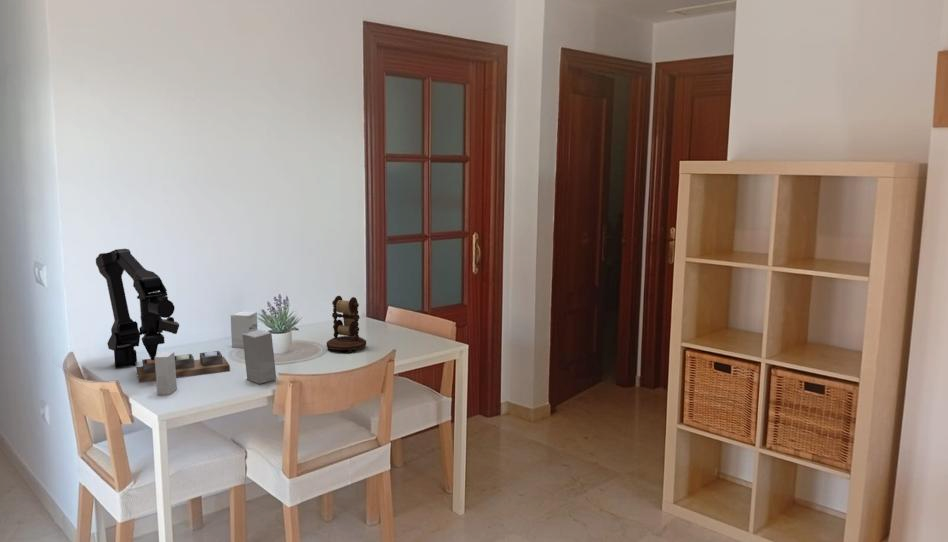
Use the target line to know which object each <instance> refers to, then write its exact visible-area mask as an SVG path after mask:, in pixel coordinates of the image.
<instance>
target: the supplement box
mask: <svg viewBox="0 0 948 542" xmlns="http://www.w3.org/2000/svg"><path fill="white" fill-rule="evenodd" d="M257 330H259V329H258V313H257V311H238V312H236V313H233V314H231V315H230V332H231V334H230V335H231V347H232V348H237V349H244V345H243V336H242V334H244V333H248V332H253V331H257Z"/></svg>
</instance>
